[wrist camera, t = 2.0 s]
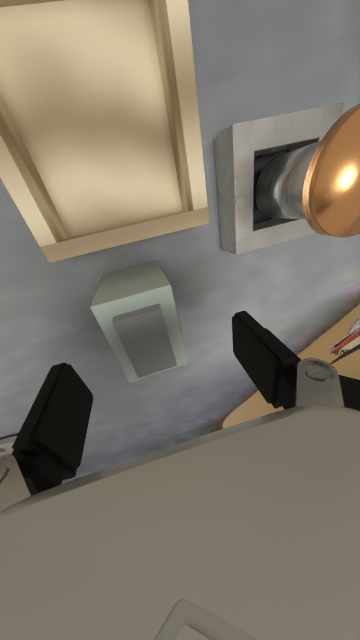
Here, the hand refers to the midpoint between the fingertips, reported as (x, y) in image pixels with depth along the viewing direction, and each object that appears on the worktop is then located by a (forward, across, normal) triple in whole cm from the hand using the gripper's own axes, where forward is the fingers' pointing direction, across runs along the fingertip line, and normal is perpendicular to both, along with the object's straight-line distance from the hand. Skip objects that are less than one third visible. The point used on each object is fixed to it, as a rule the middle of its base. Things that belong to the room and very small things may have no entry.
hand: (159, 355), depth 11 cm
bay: (+10, 0, -11) cm, 15 cm away
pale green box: (+10, +1, +1) cm, 10 cm away
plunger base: (+10, -12, -6) cm, 17 cm away
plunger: (+8, -12, -6) cm, 16 cm away
